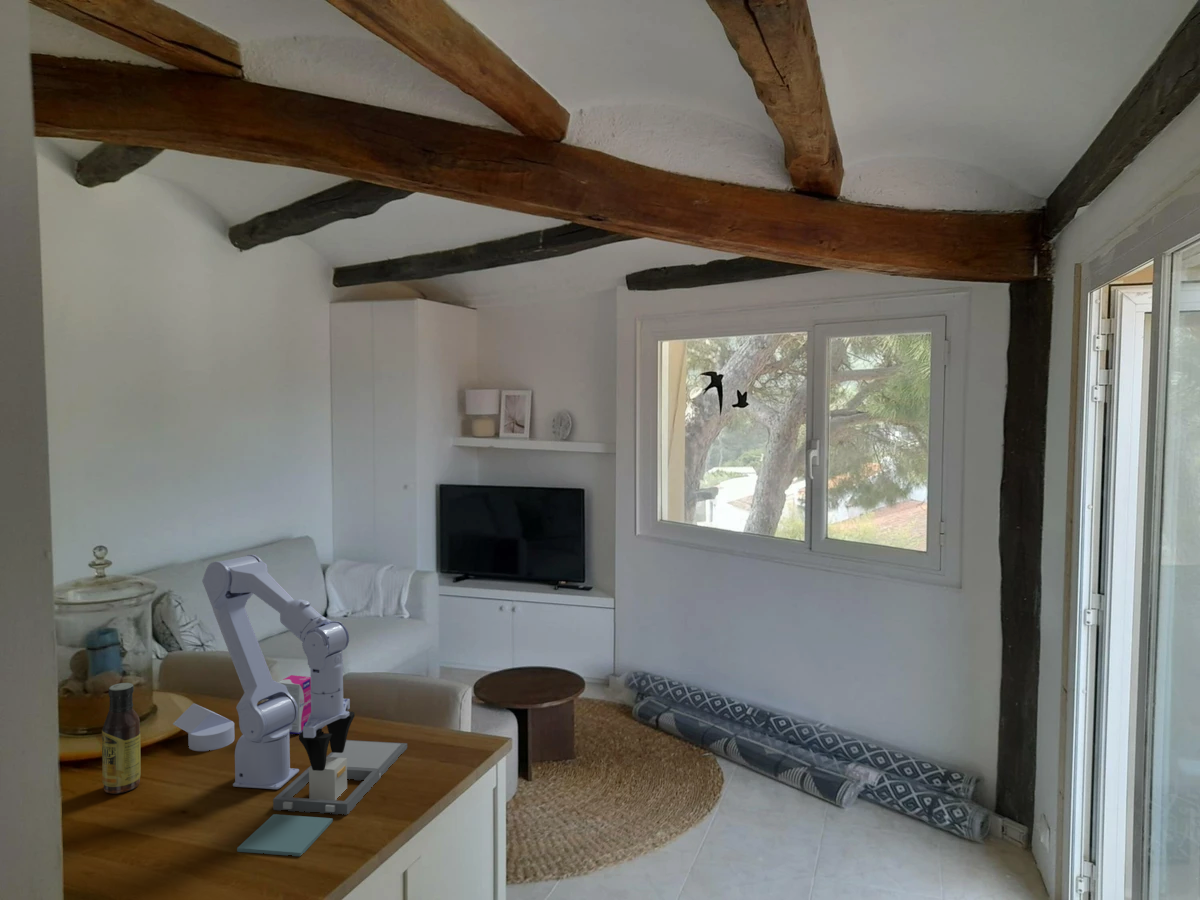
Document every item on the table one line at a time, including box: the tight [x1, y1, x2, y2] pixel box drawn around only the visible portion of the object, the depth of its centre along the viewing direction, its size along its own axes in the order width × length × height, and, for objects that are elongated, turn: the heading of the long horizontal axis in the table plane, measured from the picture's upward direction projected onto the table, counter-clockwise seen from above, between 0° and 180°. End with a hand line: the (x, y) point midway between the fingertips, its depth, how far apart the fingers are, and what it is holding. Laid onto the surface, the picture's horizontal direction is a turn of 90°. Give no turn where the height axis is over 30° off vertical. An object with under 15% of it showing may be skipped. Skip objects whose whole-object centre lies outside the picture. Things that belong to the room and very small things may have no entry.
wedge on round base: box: [172, 703, 236, 752], centre depth 173 cm, size 9×7×13 cm
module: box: [308, 757, 348, 801], centre depth 148 cm, size 5×5×6 cm
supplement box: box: [277, 674, 311, 735], centre depth 178 cm, size 6×6×12 cm
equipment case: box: [272, 739, 408, 816], centre depth 155 cm, size 14×29×2 cm, turn 172°
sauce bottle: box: [101, 682, 142, 795], centre depth 150 cm, size 7×6×20 cm
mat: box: [236, 813, 334, 857], centre depth 133 cm, size 11×11×1 cm
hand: (328, 760), depth 148 cm, fingers open, 7 cm apart
